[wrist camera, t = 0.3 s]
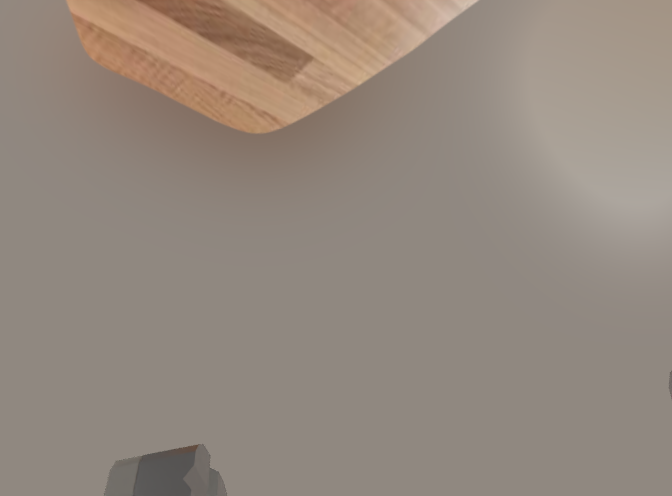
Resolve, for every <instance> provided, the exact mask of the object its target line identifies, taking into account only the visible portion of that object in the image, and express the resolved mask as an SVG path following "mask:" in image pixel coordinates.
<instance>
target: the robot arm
mask: <svg viewBox="0 0 672 496" xmlns="http://www.w3.org/2000/svg"><path fill="white" fill-rule="evenodd" d="M669 389H670V393H671V397H672V371H671V372H670V380H669ZM104 496H227V493H226V489H225V486H224V482H223V480H222V478H221V476H220V474H219V472H218V471H216V470H214V469H211V468H210V454H209V453H208V451H207V449H206V448H205V446H204V445H203V444H198V445H193V446H188V447H183V448H178V449H173V450H168V451H163V452H158V453H152V454H147V455H143V456H138V457H133V458H128V459H123V460H119V461H116V462H115V463H114V465H113V466H112V468H111V470H110V473H109V477H108V481H107V485H106V489H105V493H104Z"/></svg>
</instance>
